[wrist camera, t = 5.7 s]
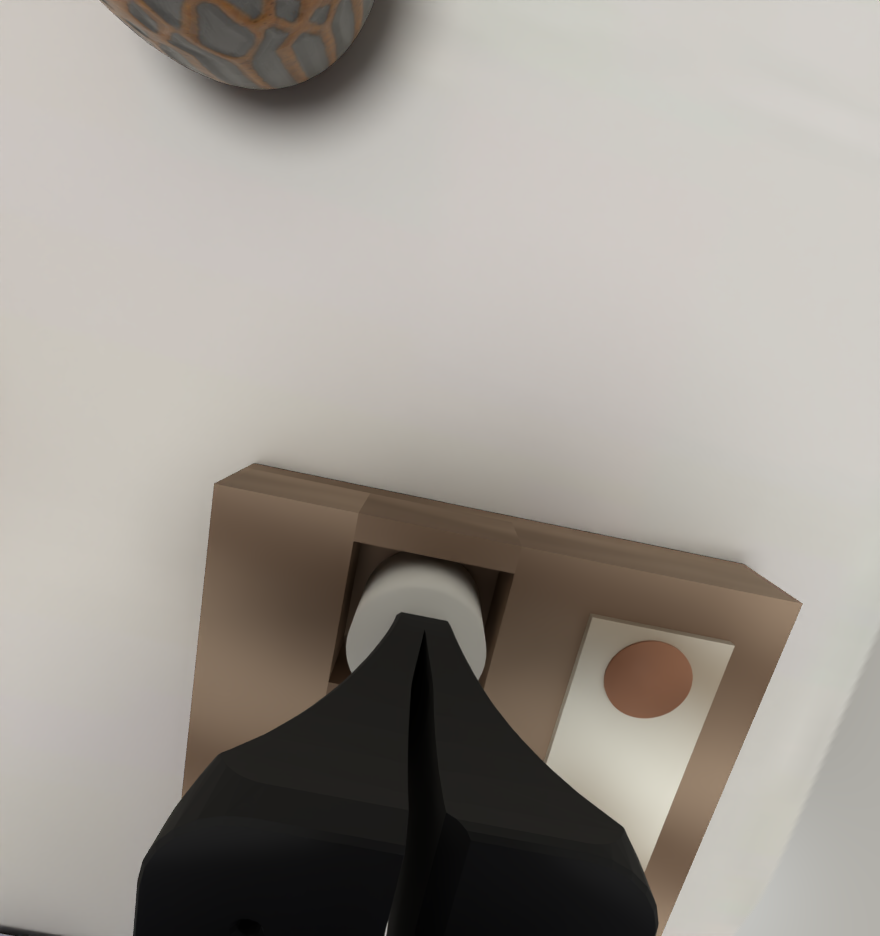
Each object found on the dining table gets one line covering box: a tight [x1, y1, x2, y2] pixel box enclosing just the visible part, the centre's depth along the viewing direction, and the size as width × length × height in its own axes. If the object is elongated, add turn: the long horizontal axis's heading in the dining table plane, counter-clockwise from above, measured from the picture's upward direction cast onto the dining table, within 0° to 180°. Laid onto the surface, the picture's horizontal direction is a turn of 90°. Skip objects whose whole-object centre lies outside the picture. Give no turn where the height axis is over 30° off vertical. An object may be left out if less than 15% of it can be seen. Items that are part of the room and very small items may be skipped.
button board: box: [182, 464, 802, 936], centre depth 15 cm, size 19×16×3 cm
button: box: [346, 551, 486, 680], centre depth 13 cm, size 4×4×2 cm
